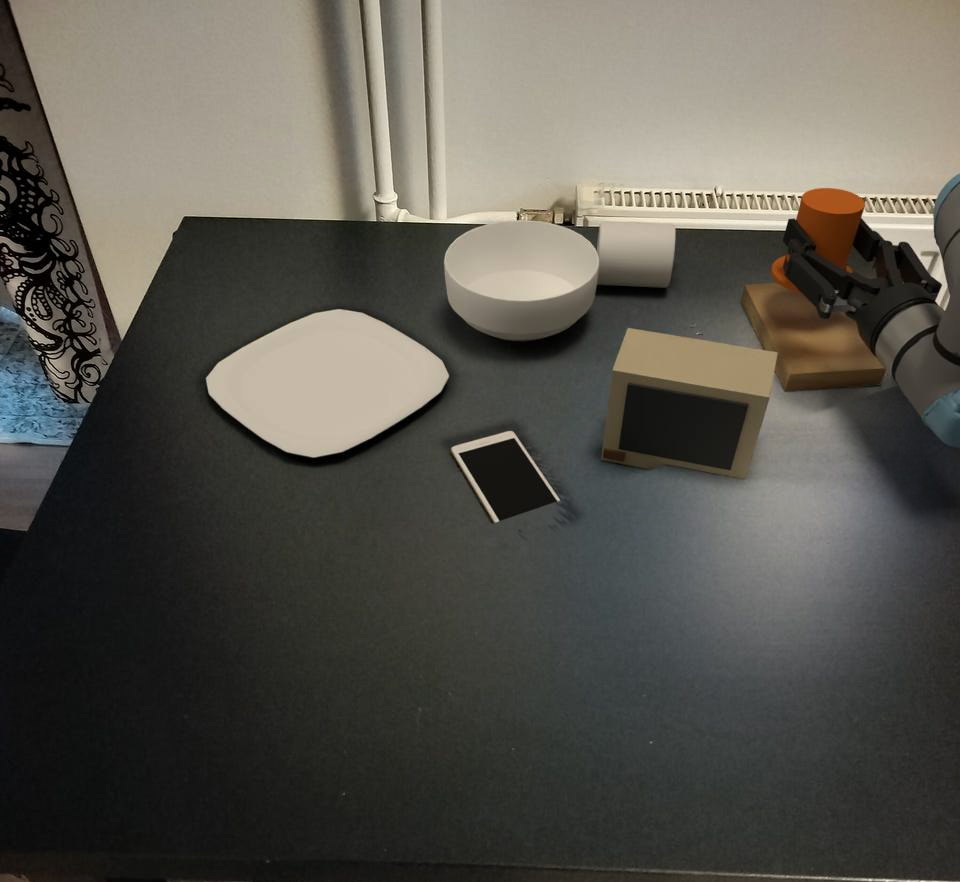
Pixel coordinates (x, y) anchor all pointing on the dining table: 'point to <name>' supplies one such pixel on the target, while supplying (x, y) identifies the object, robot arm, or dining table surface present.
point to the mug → (635, 253)
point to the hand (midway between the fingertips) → (819, 226)
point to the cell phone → (504, 475)
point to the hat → (826, 227)
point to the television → (686, 403)
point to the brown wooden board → (809, 341)
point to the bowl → (521, 278)
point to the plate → (326, 382)
